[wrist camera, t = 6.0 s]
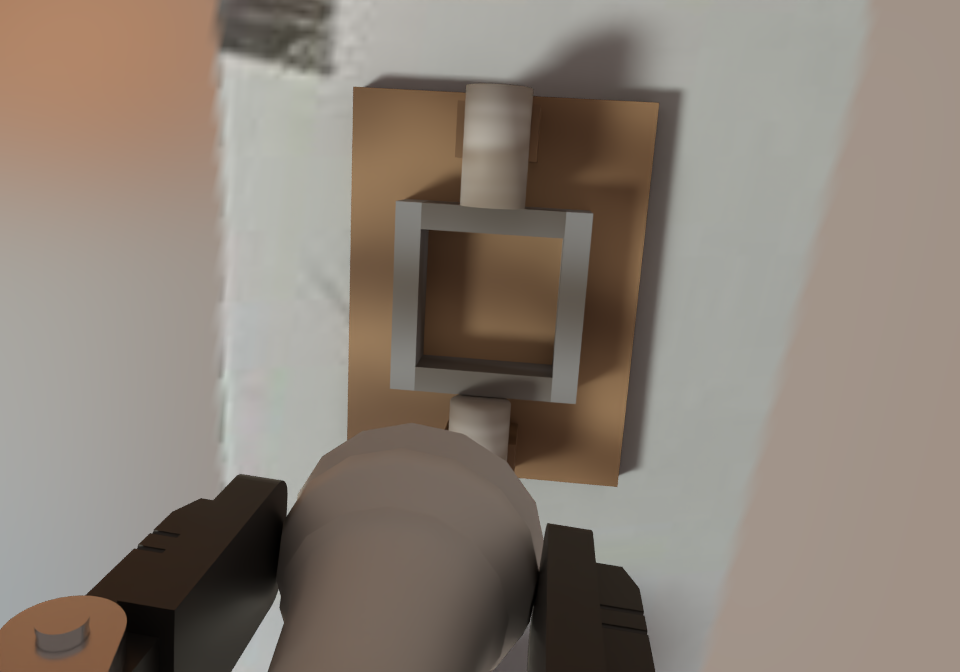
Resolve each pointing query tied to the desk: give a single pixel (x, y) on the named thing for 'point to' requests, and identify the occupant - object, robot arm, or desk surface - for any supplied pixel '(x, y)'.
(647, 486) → the desk surface
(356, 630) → the rook chess piece
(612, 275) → the frame on base plate
